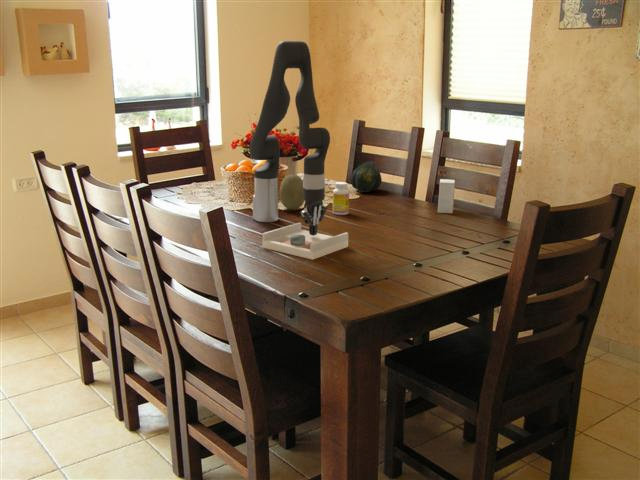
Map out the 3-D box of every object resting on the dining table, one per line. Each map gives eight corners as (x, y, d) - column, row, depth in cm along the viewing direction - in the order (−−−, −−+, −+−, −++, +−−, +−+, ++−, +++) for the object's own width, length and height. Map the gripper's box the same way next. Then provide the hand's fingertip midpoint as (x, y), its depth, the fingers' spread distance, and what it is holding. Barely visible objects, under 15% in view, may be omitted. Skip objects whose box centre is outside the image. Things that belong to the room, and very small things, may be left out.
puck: (287, 243, 241) (287, 236, 241) (296, 240, 245) (296, 233, 245) (299, 246, 239) (299, 239, 238) (308, 243, 243) (308, 236, 242)
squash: (343, 181, 333) (365, 158, 329) (347, 177, 348) (368, 155, 343) (365, 202, 334) (387, 180, 330) (368, 197, 348) (389, 175, 344)
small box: (452, 213, 298) (455, 183, 295) (437, 212, 299) (439, 182, 296) (453, 209, 306) (455, 179, 302) (438, 208, 307) (439, 178, 303)
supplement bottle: (347, 215, 292) (347, 185, 288) (331, 214, 293) (331, 184, 289) (349, 212, 298) (350, 182, 294) (334, 211, 299) (334, 181, 296)
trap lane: (262, 247, 246) (262, 233, 244) (299, 235, 261) (299, 222, 260) (312, 259, 233) (312, 244, 232) (348, 246, 248) (348, 232, 247)
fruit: (311, 208, 303) (311, 173, 299) (296, 213, 294) (296, 177, 290) (289, 205, 309) (289, 170, 305) (273, 209, 300) (273, 174, 296)
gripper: (317, 182, 252) (316, 229, 257) (293, 187, 242) (292, 236, 247) (334, 184, 248) (333, 233, 253) (310, 190, 238) (309, 240, 243)
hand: (313, 234), depth 250 cm, fingers closed
